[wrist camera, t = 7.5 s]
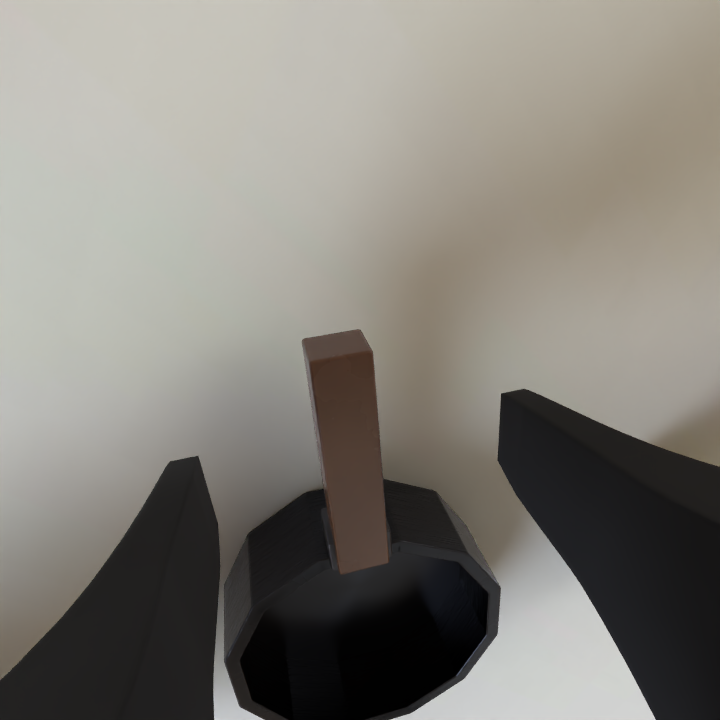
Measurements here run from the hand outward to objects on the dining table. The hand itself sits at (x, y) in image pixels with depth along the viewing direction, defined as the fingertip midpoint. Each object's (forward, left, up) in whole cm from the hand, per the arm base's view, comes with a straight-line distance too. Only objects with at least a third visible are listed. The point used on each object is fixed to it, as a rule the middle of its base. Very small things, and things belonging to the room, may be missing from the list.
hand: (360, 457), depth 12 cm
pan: (0, -7, -5) cm, 9 cm away
